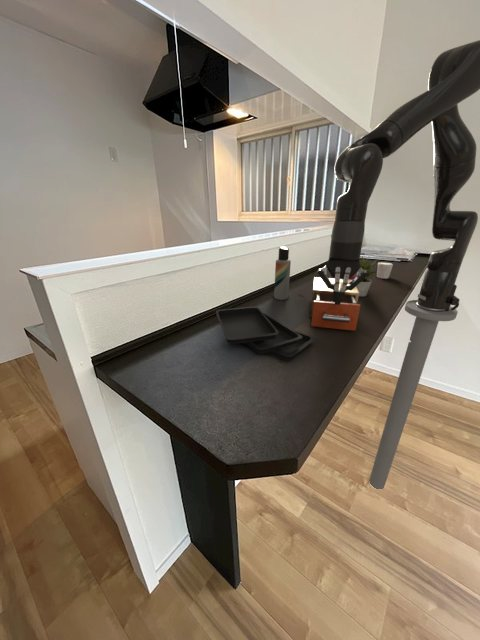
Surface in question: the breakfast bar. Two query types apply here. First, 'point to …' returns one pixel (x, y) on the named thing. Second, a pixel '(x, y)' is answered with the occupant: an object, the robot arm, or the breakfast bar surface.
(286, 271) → the lotion bottle
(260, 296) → the breakfast bar surface
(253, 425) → the breakfast bar surface
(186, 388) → the breakfast bar surface
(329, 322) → the wooden drawer unit
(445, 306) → the robot arm
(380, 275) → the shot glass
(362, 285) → the house plant
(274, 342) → the tray
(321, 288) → the small drawer box
